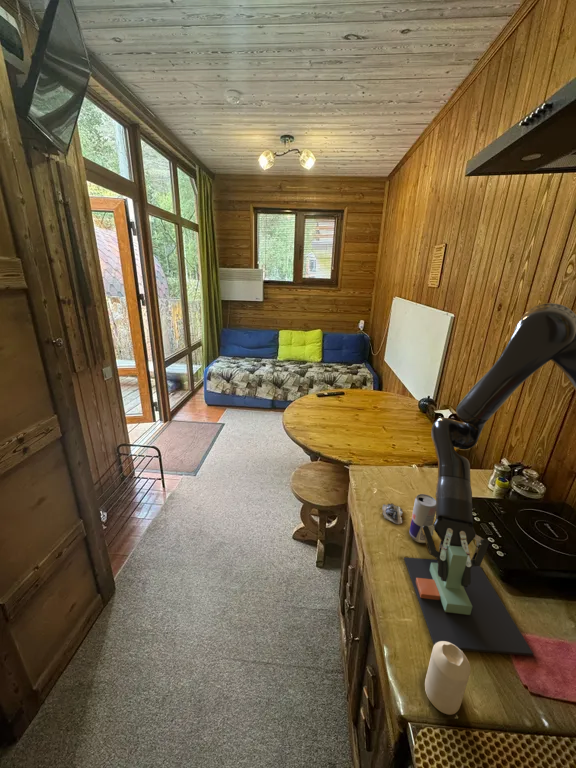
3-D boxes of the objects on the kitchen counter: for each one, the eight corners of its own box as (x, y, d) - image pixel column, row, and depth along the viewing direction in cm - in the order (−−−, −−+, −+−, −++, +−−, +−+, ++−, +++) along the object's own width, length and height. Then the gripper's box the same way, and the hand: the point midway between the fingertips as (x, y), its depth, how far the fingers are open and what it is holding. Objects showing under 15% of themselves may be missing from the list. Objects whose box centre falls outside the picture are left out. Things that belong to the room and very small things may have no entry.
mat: (477, 564, 77) (477, 562, 76) (533, 656, 58) (533, 654, 57) (403, 559, 78) (404, 557, 77) (434, 648, 59) (435, 645, 58)
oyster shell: (397, 504, 97) (398, 499, 96) (410, 523, 89) (411, 518, 89) (377, 506, 96) (378, 501, 95) (388, 525, 89) (389, 519, 88)
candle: (449, 724, 48) (461, 683, 45) (417, 688, 53) (427, 648, 50) (466, 698, 51) (479, 658, 48) (435, 666, 56) (444, 627, 53)
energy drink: (411, 526, 88) (417, 491, 85) (431, 533, 86) (438, 497, 82) (407, 538, 84) (413, 502, 80) (428, 547, 81) (436, 509, 78)
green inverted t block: (450, 573, 73) (460, 533, 69) (469, 616, 64) (481, 573, 60) (429, 571, 74) (437, 531, 70) (444, 613, 64) (454, 570, 60)
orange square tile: (433, 583, 71) (434, 579, 70) (439, 600, 67) (440, 596, 67) (415, 581, 71) (416, 577, 71) (420, 598, 67) (421, 594, 67)
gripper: (424, 490, 71) (421, 575, 64) (493, 504, 67) (499, 596, 60) (419, 495, 78) (415, 573, 70) (482, 508, 74) (485, 591, 66)
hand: (454, 583), depth 65 cm, fingers closed on green inverted t block, 3 cm apart
